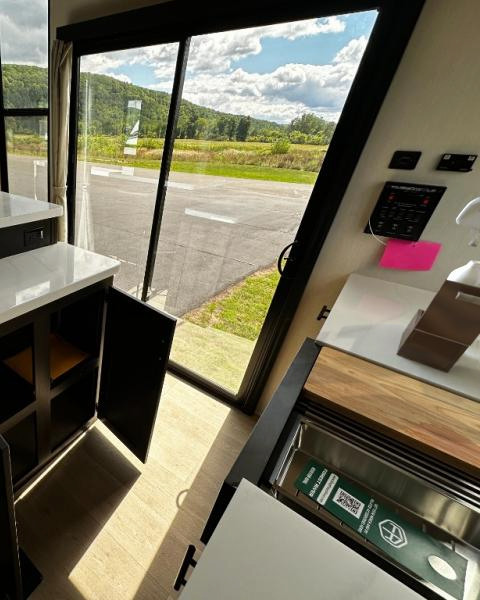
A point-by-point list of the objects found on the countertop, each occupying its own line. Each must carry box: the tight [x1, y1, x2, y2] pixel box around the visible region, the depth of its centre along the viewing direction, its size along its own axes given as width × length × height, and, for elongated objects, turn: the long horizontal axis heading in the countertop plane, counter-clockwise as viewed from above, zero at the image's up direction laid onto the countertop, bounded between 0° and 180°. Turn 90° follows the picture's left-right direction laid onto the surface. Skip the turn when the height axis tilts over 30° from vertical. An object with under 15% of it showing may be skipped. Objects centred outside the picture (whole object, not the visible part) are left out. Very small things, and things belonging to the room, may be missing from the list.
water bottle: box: [447, 259, 480, 287], centre depth 101 cm, size 9×6×25 cm
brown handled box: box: [414, 278, 480, 347], centre depth 84 cm, size 16×11×5 cm
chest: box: [396, 308, 470, 374], centre depth 96 cm, size 15×11×10 cm
